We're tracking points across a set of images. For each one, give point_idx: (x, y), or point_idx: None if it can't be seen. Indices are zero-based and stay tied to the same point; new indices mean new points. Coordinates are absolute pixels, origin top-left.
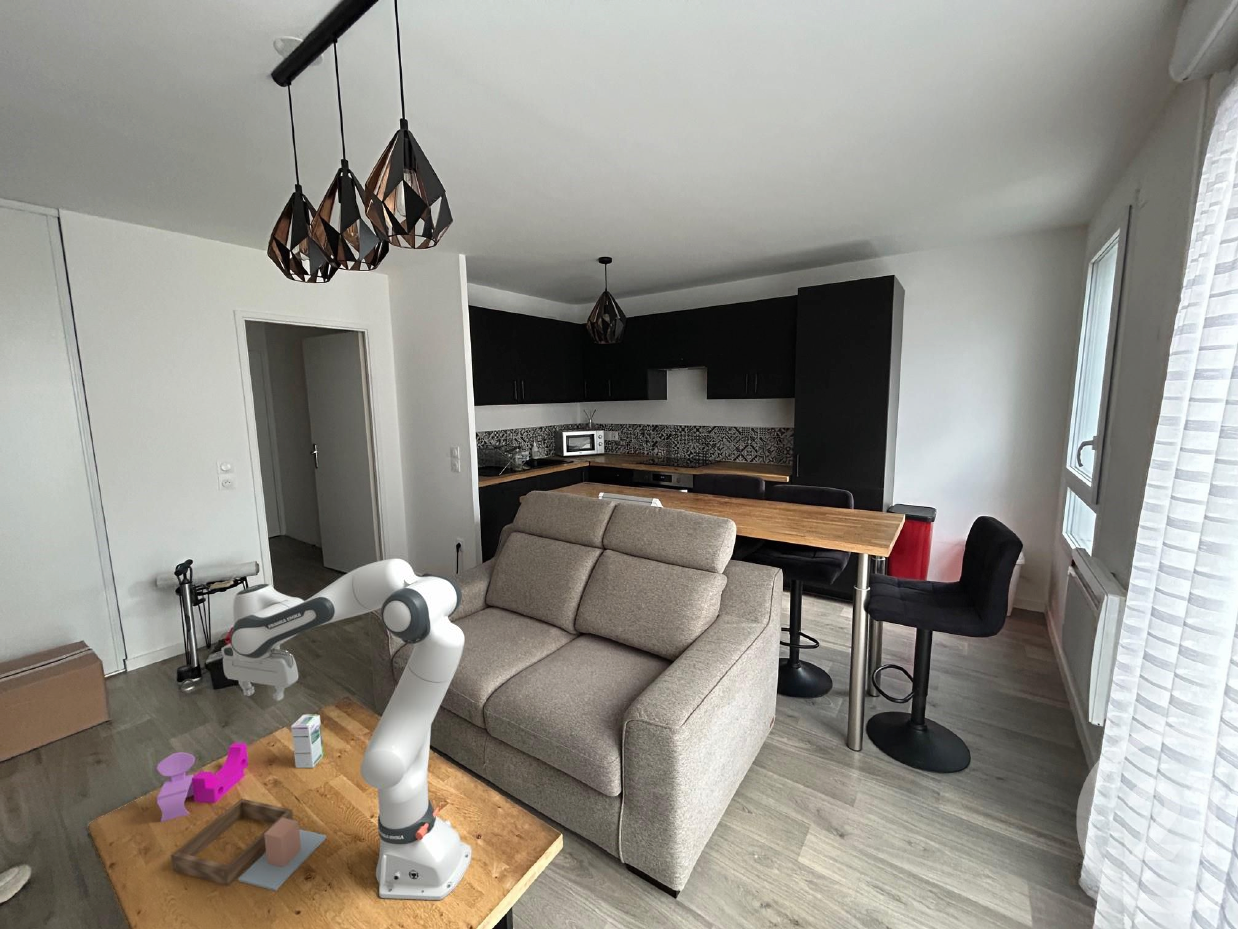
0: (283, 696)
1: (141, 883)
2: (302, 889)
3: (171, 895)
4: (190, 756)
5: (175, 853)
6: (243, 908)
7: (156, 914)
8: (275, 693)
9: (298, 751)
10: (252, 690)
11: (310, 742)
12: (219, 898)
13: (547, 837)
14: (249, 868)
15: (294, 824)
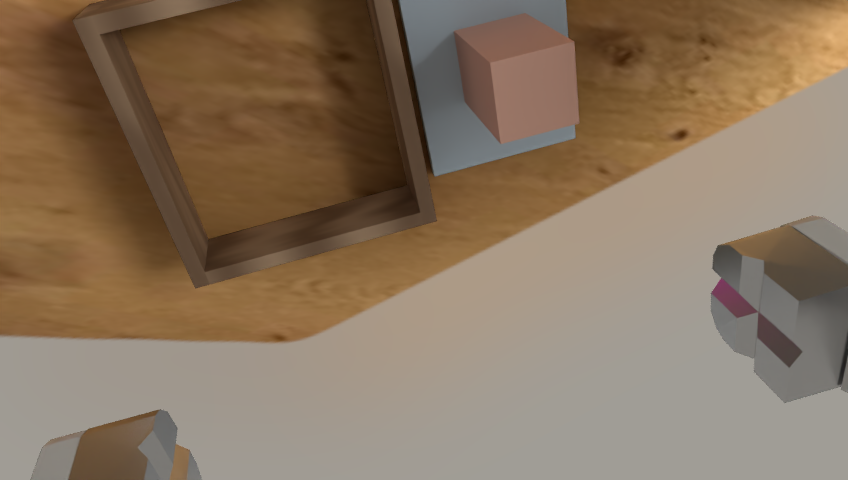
0: (822, 219)
1: (164, 313)
2: (638, 90)
3: (298, 282)
4: None
5: (200, 279)
6: (530, 201)
7: (330, 318)
8: (813, 368)
9: None
10: (152, 469)
11: None
12: None
13: None
14: (430, 141)
15: (573, 59)
